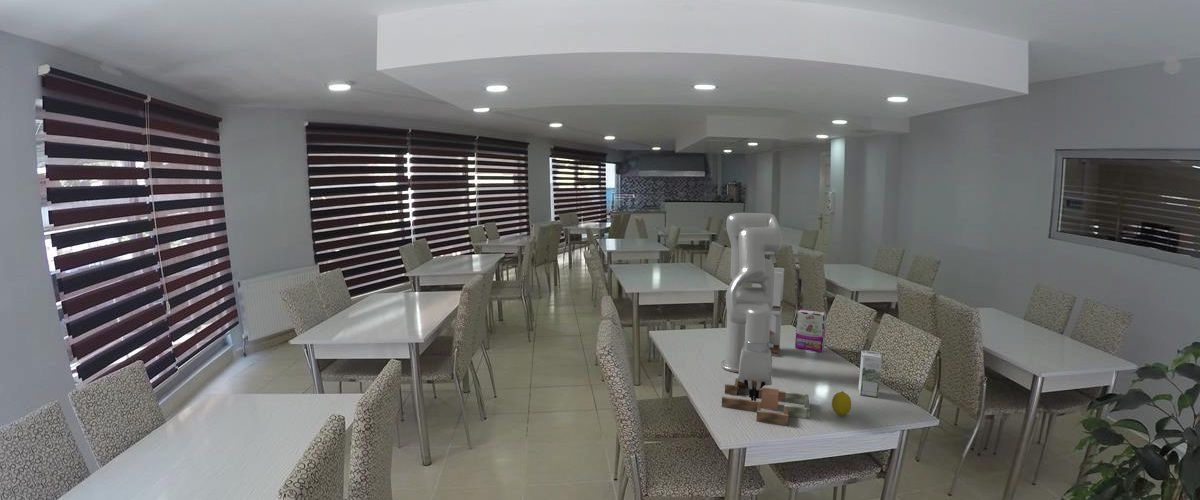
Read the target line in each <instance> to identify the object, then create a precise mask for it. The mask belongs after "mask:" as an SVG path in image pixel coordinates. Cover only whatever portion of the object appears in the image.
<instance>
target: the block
mask: <svg viewBox="0 0 1200 500" xmlns="http://www.w3.org/2000/svg"><path fill="white" fill-rule="evenodd" d="M779 391H780V390H779V389H778V388H770V387H765V386H763V387H762V398H761V400H760V402H761V409H765V410H767V409H768V410H772V411H774V410H775V411H778V409H779V408H778V407H779V401H778V393H779Z"/></svg>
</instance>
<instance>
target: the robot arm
mask: <svg viewBox="0 0 1200 500" xmlns="http://www.w3.org/2000/svg"><path fill="white" fill-rule="evenodd" d="M725 224H726V225H725V227H726V231H727V235H728V238H729V242H730V245H731V246H730V249H731V250H730V279H731V280H732V281H731V282H730V284H729V285H728V288H727V291H726V293H725V304H726V306H725V307H726V334H725V335H726V337H725V357H724V360H722V361H721V362H720V367H721V368H722V369H724V370H725V371H728V372H731V373H738V377H737V378H738V381H740V382H743V383H745V384H746V385H747V386H748V388H749V395H748V398H750V400H752V401H757V400H758V399H760V398H759V390H760V389H761V388H763V387H766V386H772V384H773V380H772V375H773V356H772V354H771V350H770V348H773V347H774V344H771V343H770V342H769V335H770V319H771V310H772V308H773V302H774V278H775V271H774V268H775V265H774V263H773V261H772V260H771V259H768V258H766V257H765V252H766V253H767V252H770V253H777V252H779V251H780V250H781V248H782V245H783V235H782V230H781V226H780V225H779V222H778V220H777V216H775V215H774V214H773V213H767V212H765V213H764V212H735V213H731V214H729V215H728V216H727V218H726V223H725ZM741 284H751V285H752V284H760V285H761V287H752V286H741ZM752 381H757V385H756V386H755V389H754V386H753V382H752Z"/></svg>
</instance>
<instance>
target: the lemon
mask: <svg viewBox="0 0 1200 500" xmlns="http://www.w3.org/2000/svg"><path fill="white" fill-rule="evenodd" d="M831 408H832V410H833V412H834V413H835V414H837V415H838V416H839V417H843V416H846V415H848V414H849V413H850V412H851V409H852V399H851V397H850V396H849V395H848V394H847V393H845V392H844V391H840V392H836V393H835V394H834V395H833V397H832V400H831Z"/></svg>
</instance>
